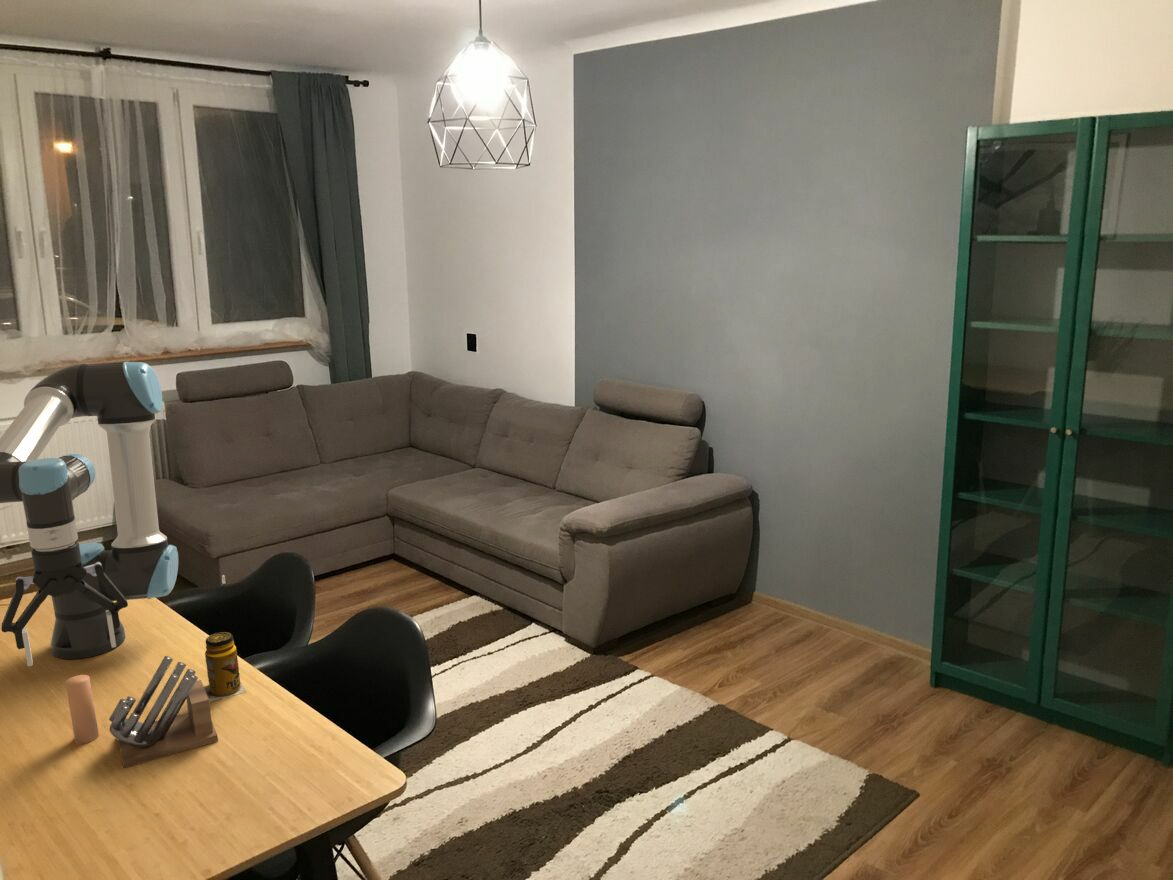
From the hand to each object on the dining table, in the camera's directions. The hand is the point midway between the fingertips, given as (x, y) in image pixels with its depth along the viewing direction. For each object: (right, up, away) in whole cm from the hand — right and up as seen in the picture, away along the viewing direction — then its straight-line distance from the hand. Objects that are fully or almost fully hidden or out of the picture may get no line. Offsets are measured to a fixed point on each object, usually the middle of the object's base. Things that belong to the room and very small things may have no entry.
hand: (72, 654), depth 172 cm
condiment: (+19, -13, +21) cm, 31 cm away
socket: (+15, -17, +2) cm, 23 cm away
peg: (0, -17, +4) cm, 17 cm away
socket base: (+16, -17, +3) cm, 23 cm away
